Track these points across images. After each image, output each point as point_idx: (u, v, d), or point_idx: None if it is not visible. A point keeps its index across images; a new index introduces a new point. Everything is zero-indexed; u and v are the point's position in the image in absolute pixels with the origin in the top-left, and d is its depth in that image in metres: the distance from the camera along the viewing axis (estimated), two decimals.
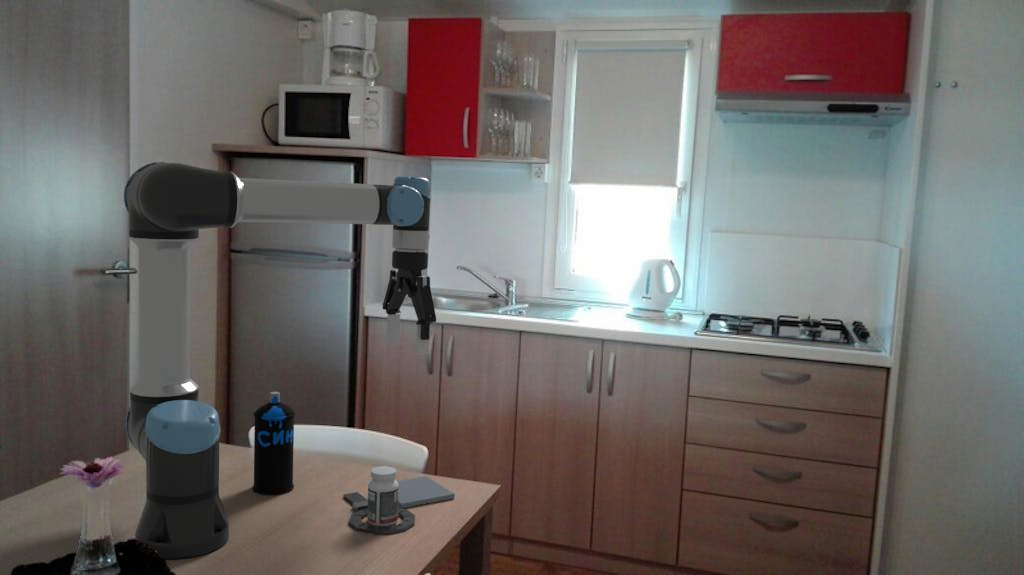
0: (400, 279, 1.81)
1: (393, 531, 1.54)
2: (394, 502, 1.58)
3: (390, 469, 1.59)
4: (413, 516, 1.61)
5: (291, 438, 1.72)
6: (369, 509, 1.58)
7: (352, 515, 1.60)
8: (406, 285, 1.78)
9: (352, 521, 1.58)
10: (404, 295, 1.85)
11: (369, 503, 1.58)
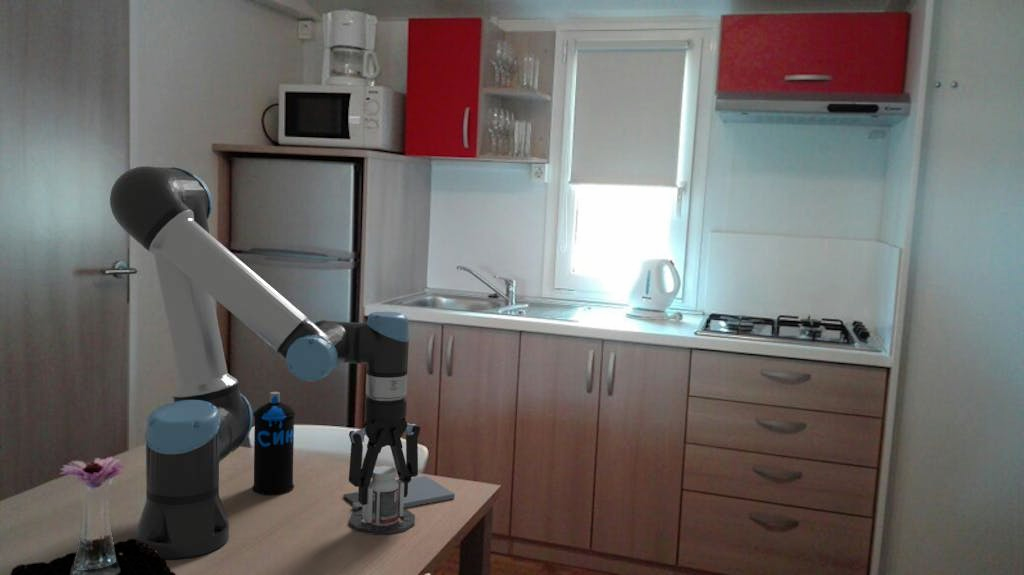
0: None
1: (393, 531, 1.54)
2: (394, 502, 1.58)
3: (390, 469, 1.59)
4: (413, 516, 1.61)
5: (291, 438, 1.72)
6: None
7: (352, 515, 1.60)
8: None
9: (352, 521, 1.58)
10: (396, 452, 1.59)
11: None
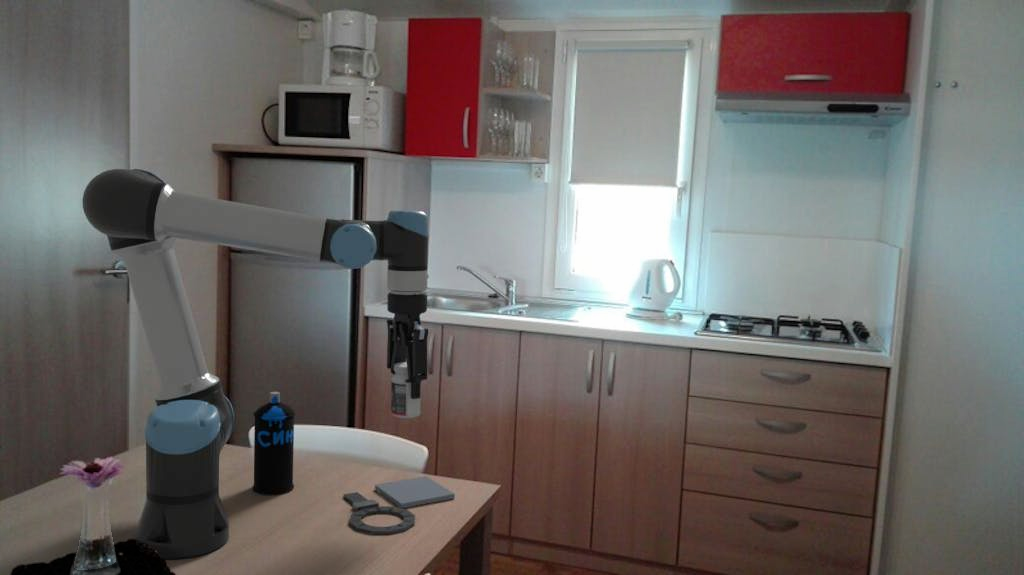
0: (396, 323, 1.63)
1: (393, 531, 1.54)
2: None
3: (404, 363, 1.65)
4: (413, 516, 1.61)
5: (291, 438, 1.72)
6: None
7: (352, 515, 1.60)
8: (402, 332, 1.61)
9: (352, 521, 1.58)
10: None
11: None
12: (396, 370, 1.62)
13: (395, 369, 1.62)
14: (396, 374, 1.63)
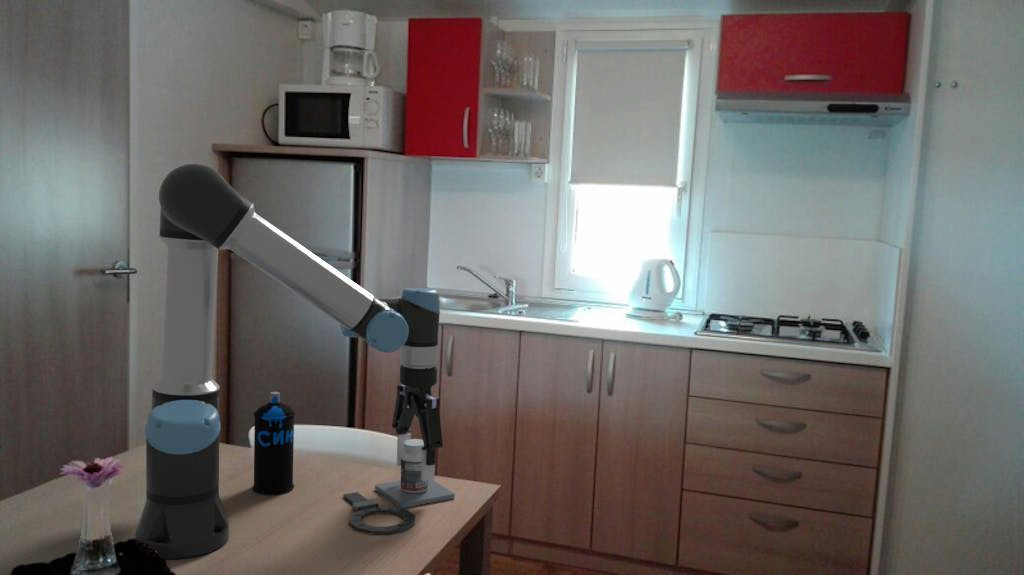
0: (408, 394, 1.72)
1: (393, 531, 1.54)
2: None
3: (412, 440, 1.74)
4: (413, 516, 1.61)
5: (291, 438, 1.72)
6: None
7: (352, 515, 1.60)
8: (414, 403, 1.70)
9: (352, 521, 1.58)
10: (414, 411, 1.76)
11: None
12: (406, 448, 1.72)
13: (405, 447, 1.72)
14: (406, 452, 1.72)
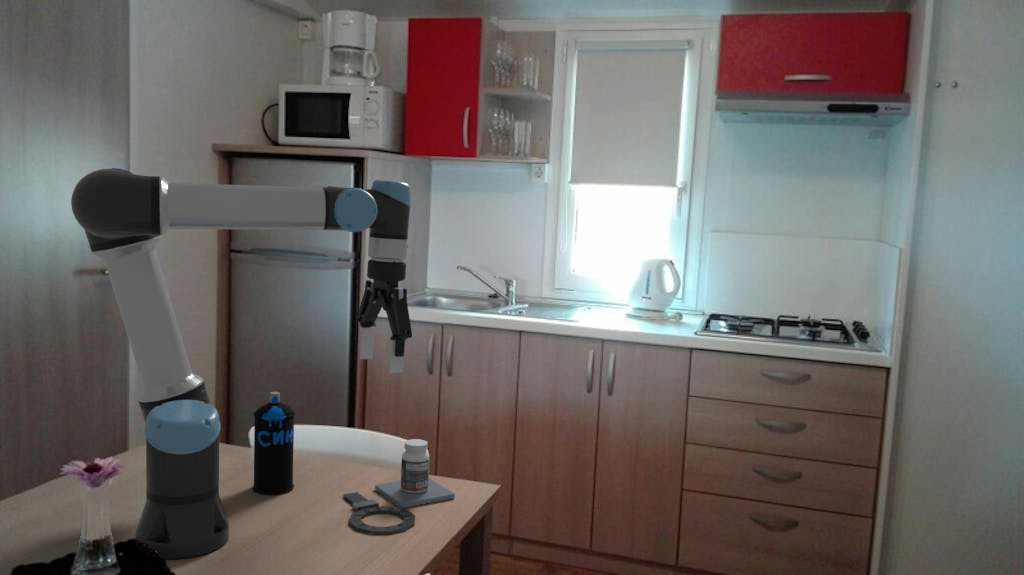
0: (375, 290, 1.68)
1: (393, 531, 1.54)
2: None
3: (414, 440, 1.75)
4: (413, 516, 1.61)
5: (291, 438, 1.72)
6: (423, 479, 1.72)
7: (352, 515, 1.60)
8: (381, 297, 1.66)
9: (352, 521, 1.58)
10: (380, 307, 1.72)
11: (422, 474, 1.72)
12: (407, 448, 1.72)
13: (406, 447, 1.72)
14: (407, 451, 1.72)
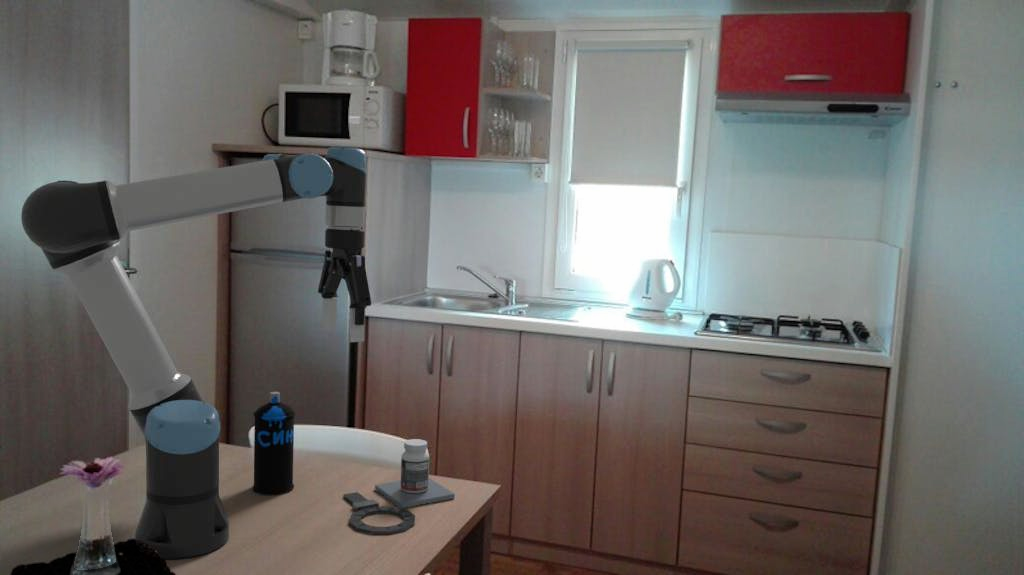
0: (334, 259, 1.66)
1: (393, 531, 1.54)
2: None
3: (413, 440, 1.75)
4: (413, 516, 1.61)
5: (291, 438, 1.72)
6: (423, 479, 1.72)
7: (352, 515, 1.60)
8: (340, 266, 1.64)
9: (352, 521, 1.58)
10: (340, 277, 1.70)
11: (422, 474, 1.72)
12: (406, 448, 1.72)
13: (405, 447, 1.72)
14: (406, 451, 1.72)
